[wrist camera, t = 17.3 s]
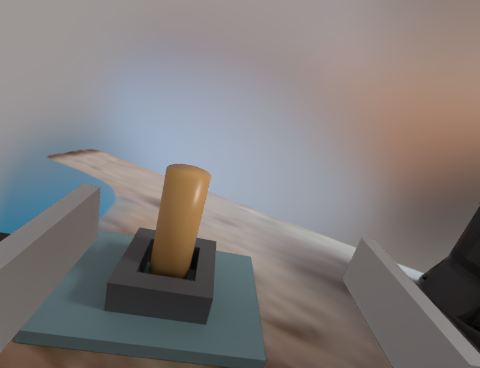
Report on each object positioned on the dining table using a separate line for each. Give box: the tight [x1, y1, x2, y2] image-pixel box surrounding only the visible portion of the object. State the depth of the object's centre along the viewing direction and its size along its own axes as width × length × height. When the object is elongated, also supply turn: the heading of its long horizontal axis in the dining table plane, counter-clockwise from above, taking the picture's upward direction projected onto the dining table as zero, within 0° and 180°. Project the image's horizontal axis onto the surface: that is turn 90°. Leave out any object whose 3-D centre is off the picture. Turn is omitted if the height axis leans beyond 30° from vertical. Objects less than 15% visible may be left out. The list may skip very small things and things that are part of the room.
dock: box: [15, 228, 267, 368], centre depth 31 cm, size 22×16×5 cm
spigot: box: [148, 164, 211, 280], centre depth 29 cm, size 4×4×14 cm
